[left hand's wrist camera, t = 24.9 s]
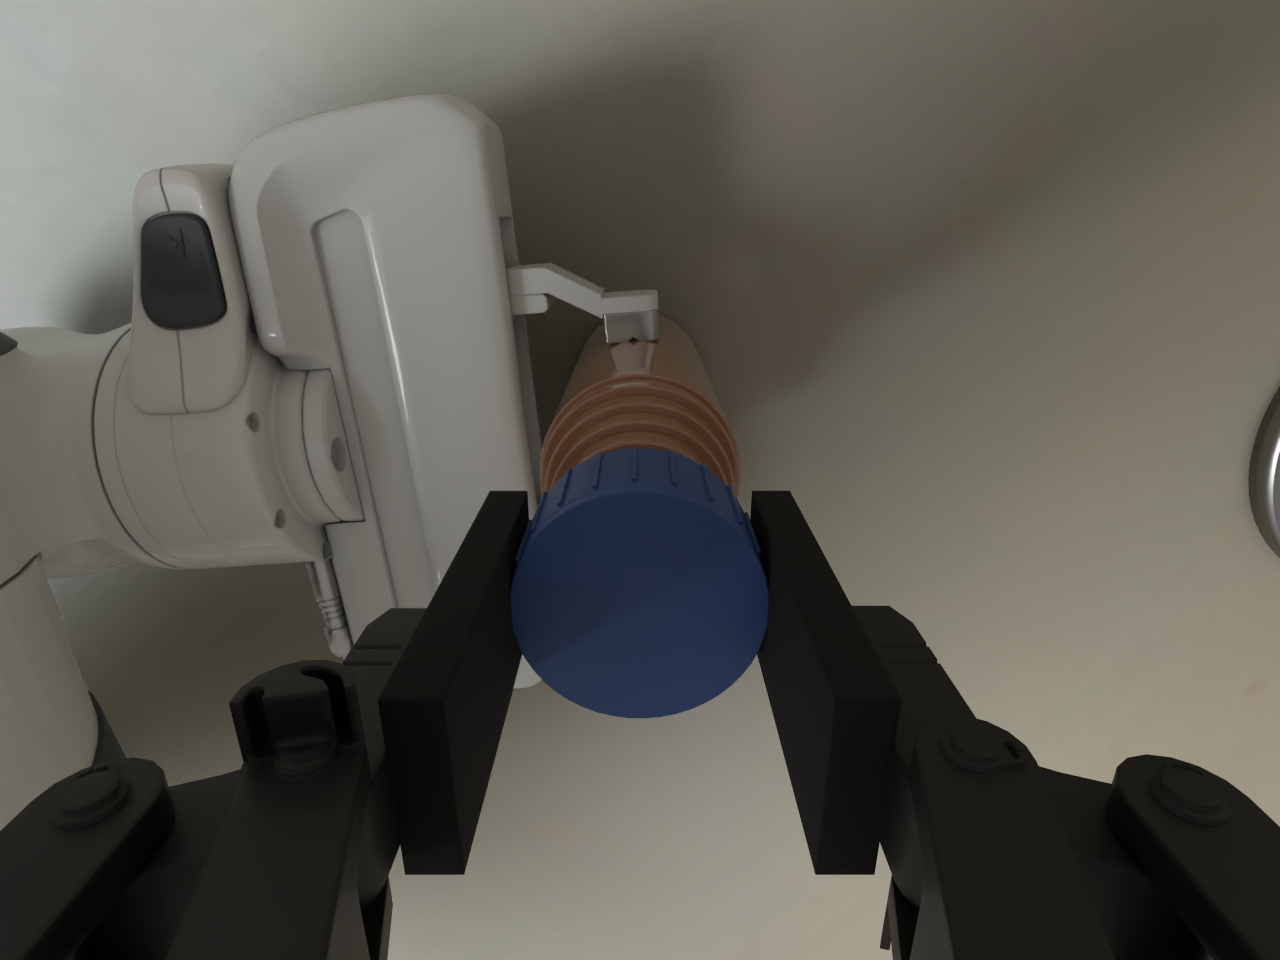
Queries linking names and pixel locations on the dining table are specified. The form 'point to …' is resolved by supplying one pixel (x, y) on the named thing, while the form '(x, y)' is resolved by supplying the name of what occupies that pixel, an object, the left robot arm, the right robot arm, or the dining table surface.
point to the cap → (639, 585)
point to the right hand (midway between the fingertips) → (665, 411)
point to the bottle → (640, 406)
